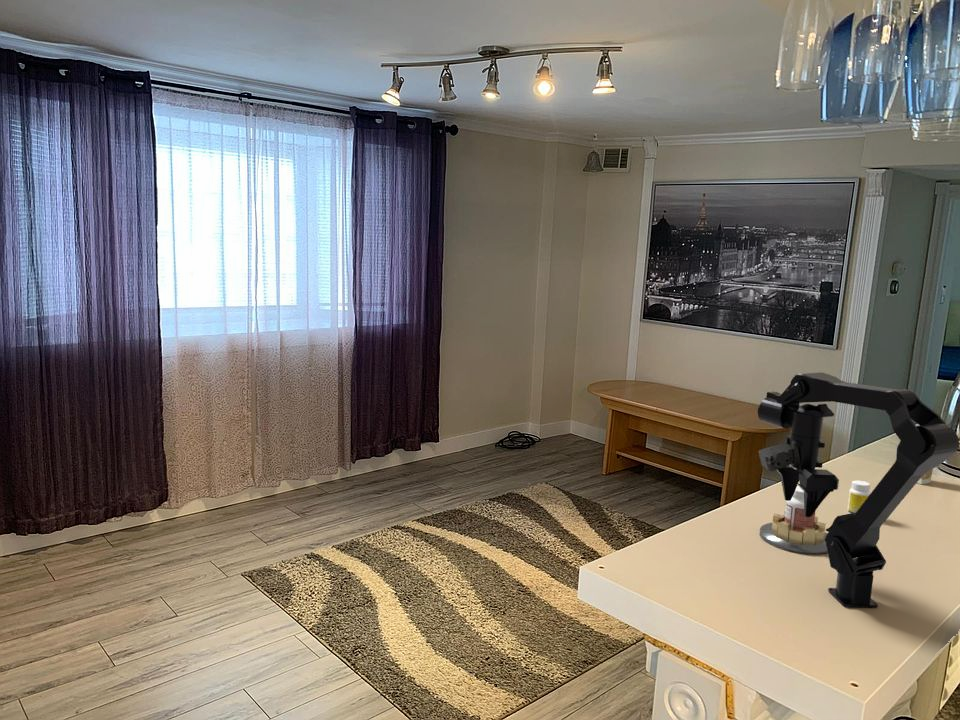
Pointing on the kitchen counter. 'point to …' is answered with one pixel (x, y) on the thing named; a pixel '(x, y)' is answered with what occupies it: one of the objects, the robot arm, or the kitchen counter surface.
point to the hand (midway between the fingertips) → (797, 508)
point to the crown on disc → (795, 536)
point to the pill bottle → (798, 512)
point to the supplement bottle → (857, 495)
